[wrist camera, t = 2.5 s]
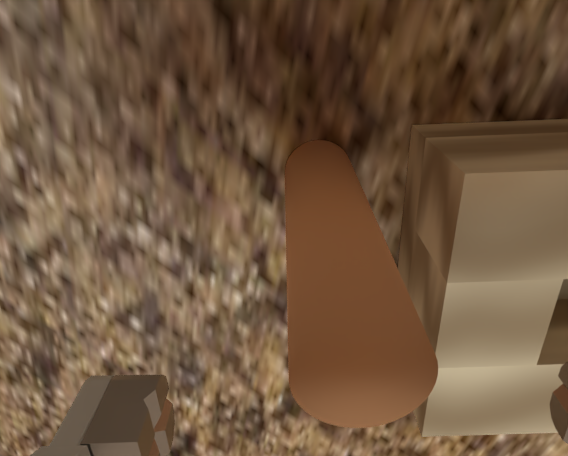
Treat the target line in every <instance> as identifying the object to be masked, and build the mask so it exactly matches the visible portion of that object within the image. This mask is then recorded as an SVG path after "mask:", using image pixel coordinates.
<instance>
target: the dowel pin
mask: <svg viewBox="0 0 568 456" xmlns="http://www.w3.org/2000/svg"><path fill="white" fill-rule="evenodd" d="M285 209H286V260H287V311H288V362H289V385H290V389H291V392H292V395H293V397H294V399H295V400H296V402H297V403H298V404H299V406H300V407H301V408H302V409H303V410H304V411H306V412H307V413H308V414H310V415H311V416H313V417H314V418H316V419H318V420H320V421H323V422H325V423H328V424H331V425H335V426H340V427H348V428H366V427H374V426H379V425H383V424H387V423H390V422H393V421H395V420H398V419H400V418H402V417H404V416H406V415H407V414H409V413H411V412H412V411H414V410H415V409H416V408H418V407H419V406H420V405H421V404H422V403H423V402H424V401H425V400H426V399H427V397H428V396H429V395H430V393H431V392H432V390H433V388H434V386H435V383H436V380H437V376H438V361H437V358H436V354H435V352H434V350H433V347H432V345H431V343H430V341H429V338H428V336H427V334H426V332H425V329H424V327H423V325H422V323H421V320H420V318H419V316H418V313H417V311H416V309H415V307H414V304H413V302H412V300H411V298H410V295H409V293H408V291H407V289H406V286H405V284H404V282H403V280H402V277H401V275H400V273H399V270H398V268H397V266H396V264H395V261H394V259H393V257H392V255H391V252H390V250H389V248H388V246H387V243H386V241H385V239H384V237H383V234H382V232H381V230H380V227H379V225H378V223H377V221H376V218H375V216H374V214H373V212H372V209H371V207H370V205H369V203H368V200H367V198H366V196H365V194H364V191H363V189H362V187H361V184H360V182H359V180H358V178H357V175H356V173H355V171H354V169H353V166H352V164H351V162H350V160H349V158H348V155H347V154H346V153H345V151H344V150H343V149H342V148H341V147H339V146H338V145H336V144H335V143H332V142H330V141H325V140H313V141H309V142H306V143H304V144H302V145H300V146H299V147H298V148H296V149H295V150H294V151H293V152H292V154H291V155H290V157H289V158H288V160H287V163H286V166H285Z"/></svg>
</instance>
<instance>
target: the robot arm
mask: <svg viewBox="0 0 568 456" xmlns="http://www.w3.org/2000/svg"><path fill="white" fill-rule="evenodd" d="M558 377H559V378H560V380H561V382H562V383H563V384H562V385H561V386H559V387H558V388H557V389H556V390H555V391H553V393H552V396H551V400H550V404H549V405H550V412H551V419H552V421H553V423H554V426H555V428H556V430H557V432H558V433H559V435H560V436H561V438H562V440H563V441H565V442H566V443H568V362H566V363H565V364H564V365H562V366H561V369H560V372H559V374H558ZM168 390H169V386H168V382H167V378H166V376H164V375H115V376H90V377H89V378H88V379H87V380H86V381H85V382H84V384H83V385H82V387H81V389H80V391H79V393H78V395H77V396H76V398H75V400H74V402H73V404H72V406H71V407H70V409H69V411H68V413H67V415H66V417H65V418H64V420H63V422H62V424H61V426H60V428H59V429H58V431H57V433H56V435H55V437H54V439H53V440H52V442H51V444H50V446H42V447H40V448H39V449H38V450H36V451H35V452H34V453H33V454H31V455H30V456H167V454H168V453H169V452H170V450H171V446H172V441H173V435H174V425H175V420H174V410H173V404H172V403H171V402H170V401H168V400H167V399H166V397H167V393H168Z"/></svg>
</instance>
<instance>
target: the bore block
mask: <svg viewBox="0 0 568 456" xmlns="http://www.w3.org/2000/svg"><path fill="white" fill-rule="evenodd" d="M398 270H399V273H400V275H401V277H402V280H403V282H404V284H405V286H406V289H407V291H408V293H409V295H410V298H411V300H412V302H413V304H414V307H415V309H416V311H417V313H418V316H419V318H420V320H421V323H422V325H423V327H424V329H425V332H426V334H427V336H428V338H429V341H430V343H431V345H432V347H433V350H434V352H435V354H436V358H437V361H438V376H437V380H436V383H435V386H434V388H433V390H432V392H431V393H430V395H429V396H428V397H427V399H426V400H425V401H424V402H423V403H422V404H421V405H420V406H419V407H418V408H416V409H415V410H414V414H415V418H416V421H417V424H418V427H419V430H420V433H421V436H422V437H427V436H460V435H494V434H527V433H558V432H557V430H556V428H555V426H554V423H553V421H552V419H551V412H550V405H549V404H550V400H551V396H552V393H553V391H555V390H556V389H557V388H558V387H559V386H561V385H562V384H563V383H562V382H561V380H560V378H559V377H558V374H559V372H560V369H561V366H562V365H564V364H565V363H566V362H568V119H551V120H526V121H500V122H474V123H449V124H423V125H412V127H411V137H410V148H409V158H408V168H407V178H406V188H405V198H404V208H403V218H402V228H401V238H400V248H399V259H398Z"/></svg>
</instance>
